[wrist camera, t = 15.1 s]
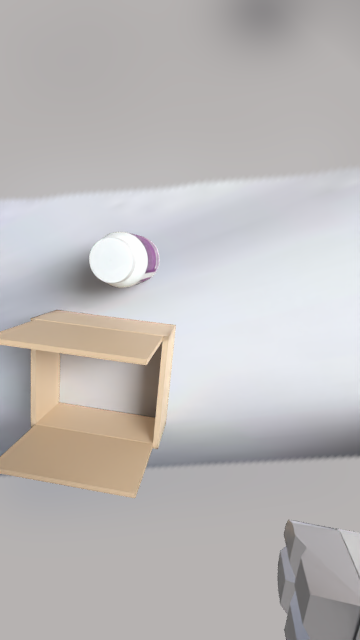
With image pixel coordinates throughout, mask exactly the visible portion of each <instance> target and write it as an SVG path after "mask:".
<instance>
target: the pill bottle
mask: <svg viewBox="0 0 360 640" xmlns="http://www.w3.org/2000/svg"><path fill="white" fill-rule="evenodd" d="M159 263H160V256H159V252H158V250H157V247H156V246H155V245H154V243H153V242H151V241H150V240H149V239H147V238H145V237H142V236H138V235H134V234H130V233H127V232H114V233H111V234H108V235H106V236H105V237H104V238H102V239H101V240H99V241H98V242H96V243H95V244H94V246H93V247H92V249H91V251H90V255H89V264H90V267H91V270H92V272H93V273H94V275H95V276H96V277H97V278H98V279H100V280H101V281H104V282H106V283H107V284H109V285H111V286H114V287H120V288H123V287H130V286H133V285H135V284H138V283H141V282H144V281H146V280H148V279H150V278H151V277H152V276H153V275H154V274H155V273H156V271H157V270H158V267H159Z"/></svg>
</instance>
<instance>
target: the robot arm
mask: <svg viewBox="0 0 360 640" xmlns="http://www.w3.org/2000/svg"><path fill="white" fill-rule="evenodd" d="M284 537H285V542H286V547H284V548H283V549H282V550H281V551H280V556H279V562H278V591H279V598H280V604H281V606H282V607H283V609H284V610H285V612H286V613H287V615H288V616H287V620H286V625H285V629H284V630H285V637H286V640H360V533H359V532H354V531H348V530H343V529H334V528H330V527H325V526H319V525H314V524H309V523H304V522H299V521H293V520H288V521H287V523H286V526H285V531H284Z"/></svg>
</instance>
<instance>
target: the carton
mask: <svg viewBox="0 0 360 640" xmlns="http://www.w3.org/2000/svg"><path fill="white" fill-rule="evenodd" d="M175 328H176V325H171V324H163V323H155V322H147V321H139V320H132V319H124V318H116V317H108V316H100V315H92V314H84V313H77V312H69V311H61V310H55V311H52V312H49V313H46V314H43V315H40V316H37V317H34V318H31V321H30V322H27V323H24V324H21V325H19V326H16V327H13V328H10V329H7V330H4V331H1V332H0V345H6V346H13V347H21V348H28V349H31V429H30V430H29V431H28V432H27V433H26V434H25V435H24V436H22V437H21V438H20V439H19V440H18V441H17V442H16V443H15V444H14V445H13V446H12V447H10V448H9V449H8V450H7V451H6V452H5V453H4V454H3V455H2V456H1V457H0V474H6V475H11V476H17V477H22V478H28V479H33V480H38V481H44V482H50V483H55V484H61V485H66V486H71V487H77V488H82V489H87V490H93V491H99V492H104V493H109V494H115V495H120V496H126V497H131V498H135V497H136V495H137V492H138V489H139V486H140V483H141V480H142V477H143V474H144V471H145V469H146V466H147V463H148V460H149V457H150V454H151V451H152V448H154V449H158V447H159V444H160V440H161V437H162V434H163V431H164V428H165V424H166V416H167V406H168V397H169V387H170V377H171V367H172V358H173V348H174V338H175ZM162 341H163V342H162ZM161 343H162V353H161V364H160V374H159V385H158V396H157V406H156V417H148V416H142V415H136V414H129V413H123V412H117V411H110V410H104V409H98V408H91V407H85V406H78V405H72V404H66V403H59V388H60V353H63V354H70V355H77V356H84V357H91V358H98V359H106V360H113V361H120V362H127V363H134V364H141V365H147V364H148V362H149V361H150V359H151V358H152V356H153V355H154V353H155V352H156V350H157V349H158V347H159V346H160V344H161Z"/></svg>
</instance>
